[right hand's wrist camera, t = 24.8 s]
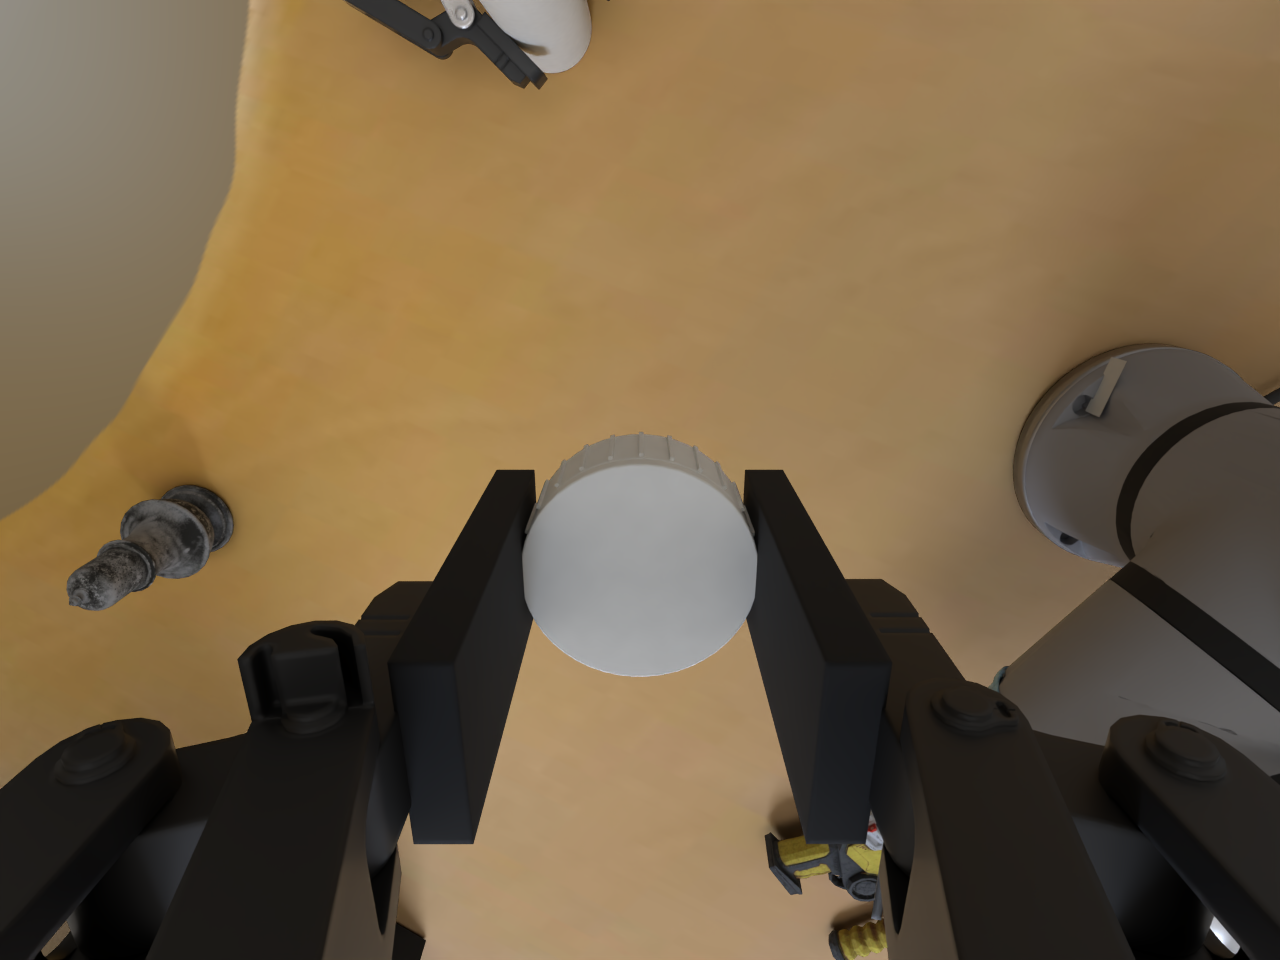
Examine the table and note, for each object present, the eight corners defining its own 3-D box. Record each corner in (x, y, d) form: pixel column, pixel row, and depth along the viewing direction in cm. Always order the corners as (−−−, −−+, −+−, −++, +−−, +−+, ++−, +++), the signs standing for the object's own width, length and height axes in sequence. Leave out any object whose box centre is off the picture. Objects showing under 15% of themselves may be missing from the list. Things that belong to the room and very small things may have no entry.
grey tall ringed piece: (139, 522, 51) (-3, 608, 40) (179, 464, 49) (43, 537, 38) (212, 570, 52) (94, 666, 41) (252, 515, 51) (142, 599, 40)
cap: (787, 487, 14) (808, 525, 12) (686, 657, 15) (692, 712, 14) (586, 392, 13) (578, 418, 12) (499, 579, 15) (480, 626, 13)
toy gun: (897, 1025, 65) (1047, 967, 61) (736, 894, 58) (892, 816, 53) (883, 971, 70) (1022, 912, 65) (731, 842, 62) (876, 766, 58)
